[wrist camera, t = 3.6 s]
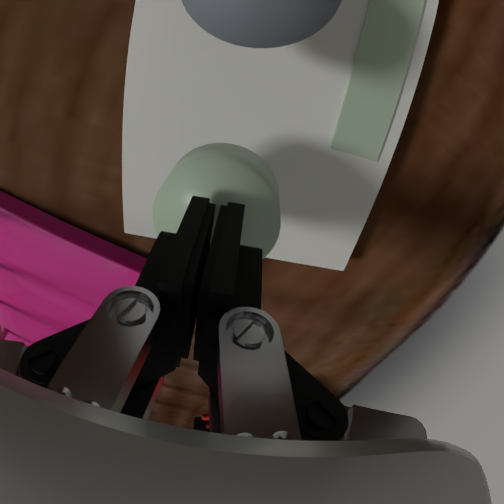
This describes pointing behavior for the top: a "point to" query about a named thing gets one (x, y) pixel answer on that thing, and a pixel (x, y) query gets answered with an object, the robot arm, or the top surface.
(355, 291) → the top surface
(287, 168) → the button panel
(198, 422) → the ink cartridge
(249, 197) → the pale green rounded piece
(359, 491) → the robot arm
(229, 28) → the grey rounded piece
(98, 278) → the file sorter
